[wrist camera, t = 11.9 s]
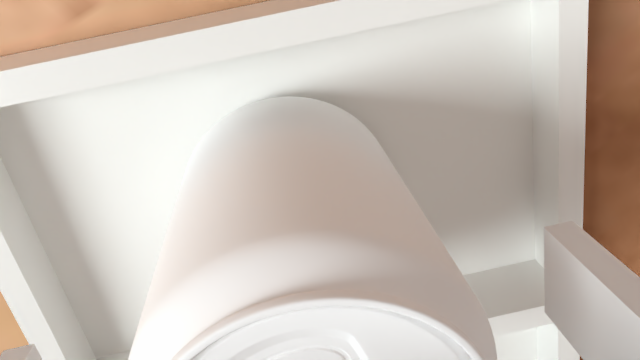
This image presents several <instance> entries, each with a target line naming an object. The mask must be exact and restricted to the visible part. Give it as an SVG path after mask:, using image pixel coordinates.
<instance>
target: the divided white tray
mask: <svg viewBox="0 0 640 360" xmlns="http://www.w3.org/2000/svg"><path fill="white" fill-rule="evenodd" d="M588 3H589V0H270V1H265V2H261V3H256V4H251V5H246V6H241V7H237V8H232V9H227V10H222V11H217V12H213V13H208V14H203V15H198V16H194V17H189V18H184V19H179V20H174V21H170V22H165V23H160V24H155V25H150V26H146V27H141V28H136V29H131V30H127V31H122V32H117V33H112V34H107V35H103V36H98V37H93V38H88V39H83V40H79V41H74V42H69V43H64V44H60V45H55V46H50V47H45V48H40V49H36V50H31V51H26V52H21V53H16V54H12V55H7V56H2V57H0V291H1V293H2V295H3V296H4V298H5V300H6V302H7V304H8V306H9V308H10V309H11V311H12V313H13V315H14V317H15V319H16V321H17V322H18V324H19V326H20V328H21V330H22V332H23V334H24V335H25V337H26V339H27V341H28V343H29V345H31V344H35V346H36V348H37V350H38V352H39V354H40V356H41V358H42V360H128V358H129V354H130V351H131V347H132V344H133V341H134V337H135V334H136V331H137V327H138V324H139V321H140V318H141V314H142V311H143V308H144V304H145V301H146V298H147V295H148V291H149V288H150V285H151V281H152V278H153V275H154V272H155V268H156V265H157V262H158V258H159V255H160V252H161V249H162V245H163V242H164V239H165V235H166V232H167V229H168V226H169V222H170V219H171V216H172V212H173V209H174V206H175V203H176V199H177V196H178V193H179V189H180V186H181V183H182V180H183V176H184V173H185V170H186V167H187V164H188V162H189V159H190V157H191V155H192V153H193V151H194V149H195V148H196V146H197V144H198V143H199V142H200V140H201V139H202V138H203V136H204V135H205V134H206V133H207V132H208V131H209V130H210V129H211V128H212V127H213V126H214V125H215V124H216V123H217V122H218V121H220V120H221V119H222V118H224V117H225V116H227V115H228V114H230V113H231V112H233V111H235V110H237V109H239V108H241V107H243V106H245V105H248V104H250V103H253V102H256V101H260V100H264V99H269V98H275V97H288V96H289V97H305V98H312V99H316V100H320V101H324V102H327V103H329V104H332V105H334V106H337V107H339V108H341V109H343V110H345V111H346V112H348V113H350V114H351V115H353V116H354V117H355V118H357V119H358V120H359V121H360V122H361V123H363V124H364V125H365V126H366V127H367V128H368V129H369V130H370V132H371V133H372V134H373V135H374V137H375V138H376V139H377V141H378V142H379V144H380V145H381V147H382V148H383V150H384V151H385V153H386V155H387V156H388V158H389V159H390V161H391V163H392V164H393V166H394V167H395V169H396V170H397V172H398V174H399V175H400V177H401V178H402V180H403V181H404V183H405V185H406V186H407V188H408V189H409V191H410V193H411V194H412V196H413V197H414V199H415V200H416V202H417V204H418V205H419V207H420V208H421V210H422V211H423V213H424V215H425V216H426V218H427V219H428V221H429V223H430V224H431V226H432V227H433V229H434V230H435V232H436V234H437V235H438V237H439V238H440V240H441V241H442V243H443V245H444V246H445V248H446V249H447V251H448V253H449V254H450V256H451V257H452V259H453V260H454V262H455V264H456V265H457V267H458V268H459V270H460V271H461V273H462V275H463V276H464V278H465V279H466V281H467V283H468V284H469V286H470V287H471V289H472V290H473V292H474V294H475V295H476V297H477V299H478V300H479V302H480V304H481V305H482V307H483V309H484V311H485V313H486V315H487V318H488V320H489V323H490V326H491V329H492V332H493V336H494V340H495V345H496V352H497V360H580V355H579V354H578V353H577V351H576V350H575V349H574V348H573V346H572V345H571V344H570V343H569V342H568V340H567V339H566V338H565V337H564V335H563V334H562V333H561V332H560V330H559V329H558V328H557V327H556V325H555V324H554V323H553V322H552V321H551V319H550V318H549V317H548V316H547V314H546V313H545V299H544V227H546V226H550V225H555V224H559V223H564V222H568V221H573V222H575V223H576V224H577V225H578V226H579V227H581V228H582V229H583V204H584V164H585V123H586V83H587V43H588Z"/></svg>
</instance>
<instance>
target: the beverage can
mask: <svg viewBox="0 0 640 360" xmlns="http://www.w3.org/2000/svg"><path fill="white" fill-rule="evenodd" d="M128 360H497V352H496V345H495V340H494V336H493V332H492V329H491V326H490V323H489V320H488V318H487V315H486V313H485V311H484V309H483V307H482V305H481V304H480V302H479V300H478V299H477V297H476V295H475V294H474V292H473V290H472V289H471V287H470V286H469V284H468V283H467V281H466V279H465V278H464V276H463V275H462V273H461V271H460V270H459V268H458V267H457V265H456V264H455V262H454V260H453V259H452V257H451V256H450V254H449V253H448V251H447V249H446V248H445V246H444V245H443V243H442V241H441V240H440V238H439V237H438V235H437V234H436V232H435V230H434V229H433V227H432V226H431V224H430V223H429V221H428V219H427V218H426V216H425V215H424V213H423V211H422V210H421V208H420V207H419V205H418V204H417V202H416V200H415V199H414V197H413V196H412V194H411V193H410V191H409V189H408V188H407V186H406V185H405V183H404V181H403V180H402V178H401V177H400V175H399V174H398V172H397V170H396V169H395V167H394V166H393V164H392V163H391V161H390V159H389V158H388V156H387V155H386V153H385V151H384V150H383V148H382V147H381V145H380V144H379V142H378V141H377V139H376V138H375V137H374V135H373V134H372V133H371V132H370V130H369V129H368V128H367V127H366V126H365V125H364V124H363V123H361V122H360V121H359V120H358V119H357V118H355V117H354V116H353V115H351V114H350V113H348V112H346V111H345V110H343V109H341V108H339V107H337V106H334V105H332V104H329V103H327V102H324V101H320V100H316V99H312V98H305V97H289V96H288V97H275V98H269V99H264V100H260V101H256V102H253V103H250V104H248V105H245V106H243V107H241V108H239V109H237V110H235V111H233V112H231V113H230V114H228V115H227V116H225V117H224V118H222V119H221V120H220V121H218V122H217V123H216V124H215V125H214V126H213V127H212V128H211V129H210V130H209V131H208V132H207V133H206V134H205V135H204V136H203V138H202V139H201V140H200V142H199V143H198V144H197V146H196V148H195V149H194V151H193V153H192V155H191V157H190V159H189V162H188V164H187V167H186V170H185V173H184V176H183V180H182V183H181V186H180V189H179V193H178V196H177V199H176V203H175V206H174V209H173V212H172V216H171V219H170V222H169V226H168V229H167V232H166V235H165V239H164V242H163V245H162V249H161V252H160V255H159V258H158V262H157V265H156V268H155V272H154V275H153V278H152V281H151V285H150V288H149V291H148V295H147V298H146V301H145V304H144V308H143V311H142V314H141V318H140V321H139V324H138V327H137V331H136V334H135V337H134V341H133V344H132V347H131V351H130V354H129V358H128Z"/></svg>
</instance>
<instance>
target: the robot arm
mask: <svg viewBox="0 0 640 360" xmlns="http://www.w3.org/2000/svg"><path fill="white" fill-rule="evenodd" d="M544 299H545V313H546V314H547V316H548V317H549V318H550V319H551V321H552V322H553V323H554V324H555V325H556V327H557V328H558V329H559V330H560V332H561V333H562V334H563V335H564V337H565V338H566V339H567V340H568V342H569V343H570V344H571V345H572V346H573V348H574V349H575V350H576V351H577V353H578V354H579V355H580V356H581V358H582V359H583V360H640V277H639V276H637V275H636V274H635V273H634V272H633V271H631V270H630V269H629V268H628V267H627V266H626V265H624V264H623V263H622V262H621V261H620V260H618V259H617V258H616V257H615V256H614V255H613V254H611V253H610V252H609V251H608V250H607V249H605V248H604V247H603V246H602V245H601V244H600V243H598V242H597V241H596V240H595V239H594V238H592V237H591V236H590V235H589V234H588V233H586V232H585V231H584V230H583V229H582V228H581V227H579V226H578V225H577V224H576V223H575V222H573V221H568V222H564V223H559V224H555V225H550V226H546V227H544ZM0 360H42V358H41V356H40V354H39V352H38V350H37V348H36V346H35V344H31V345H26V346H22V347H17V348H13V349H9V350H4V351H3V352H2V354H1V355H0Z"/></svg>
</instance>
